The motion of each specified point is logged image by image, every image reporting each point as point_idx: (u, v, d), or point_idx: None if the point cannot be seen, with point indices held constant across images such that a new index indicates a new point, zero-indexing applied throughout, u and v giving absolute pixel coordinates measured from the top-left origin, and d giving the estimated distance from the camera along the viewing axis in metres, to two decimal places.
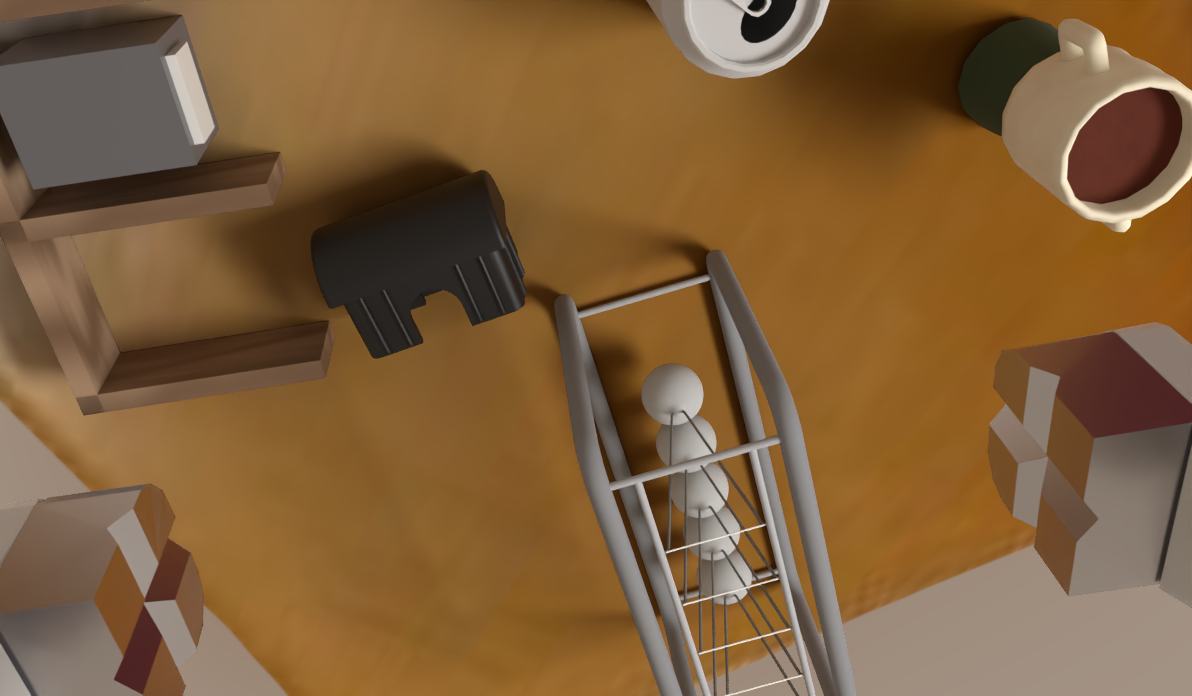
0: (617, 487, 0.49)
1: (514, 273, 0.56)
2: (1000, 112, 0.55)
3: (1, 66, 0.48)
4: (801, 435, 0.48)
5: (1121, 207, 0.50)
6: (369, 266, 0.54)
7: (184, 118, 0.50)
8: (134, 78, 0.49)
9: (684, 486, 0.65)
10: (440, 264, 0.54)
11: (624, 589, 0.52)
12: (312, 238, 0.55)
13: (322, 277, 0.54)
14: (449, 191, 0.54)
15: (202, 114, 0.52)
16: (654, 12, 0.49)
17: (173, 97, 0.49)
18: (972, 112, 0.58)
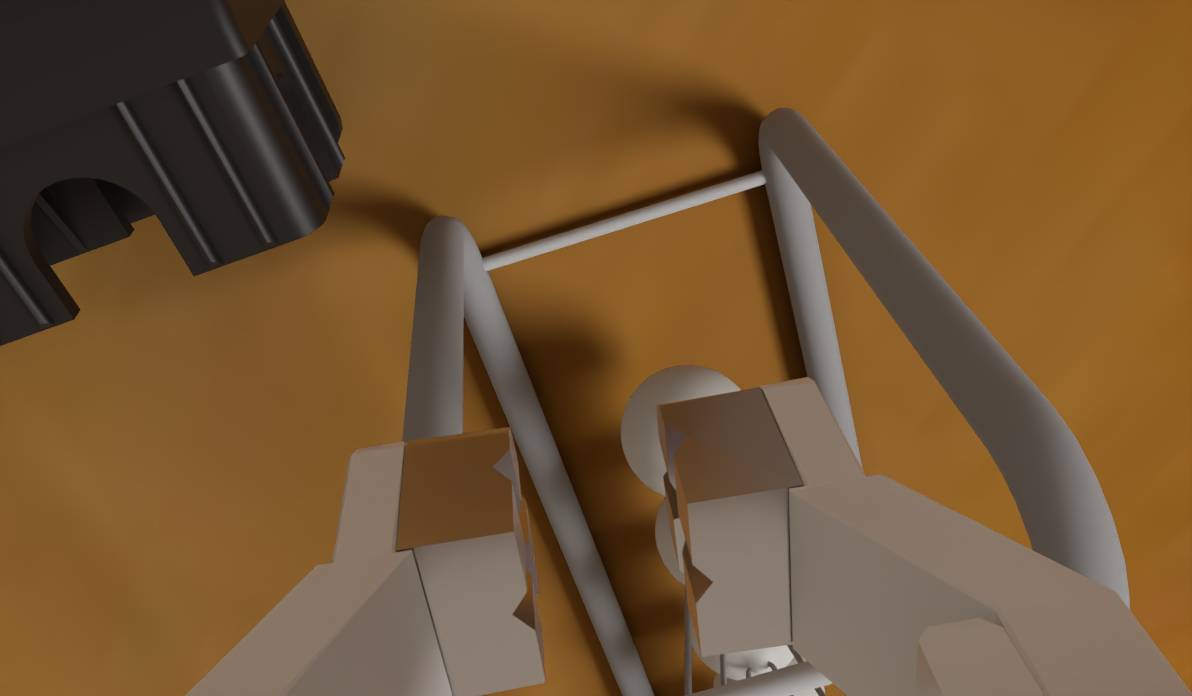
0: None
1: (296, 144, 0.23)
2: None
3: None
4: (1128, 599, 0.14)
5: None
6: None
7: None
8: None
9: None
10: (68, 103, 0.20)
11: None
12: None
13: None
14: None
15: None
16: None
17: None
18: None
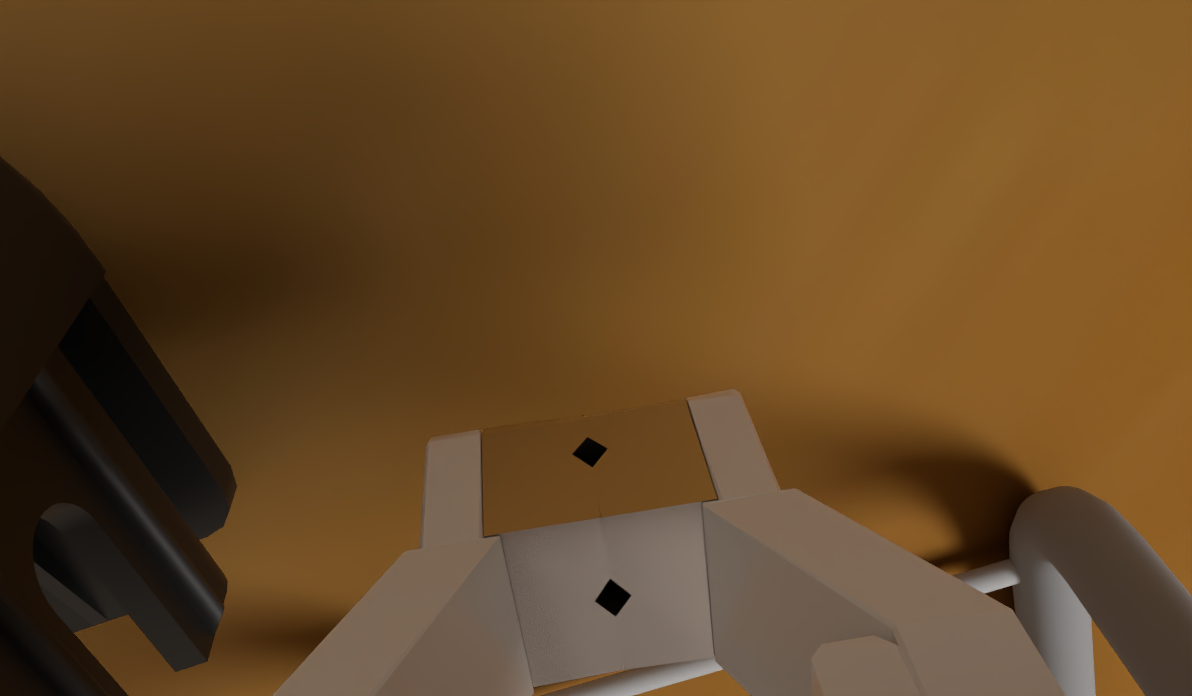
0: None
1: None
2: None
3: None
4: None
5: None
6: None
7: None
8: None
9: None
10: None
11: None
12: None
13: None
14: None
15: None
16: None
17: None
18: None
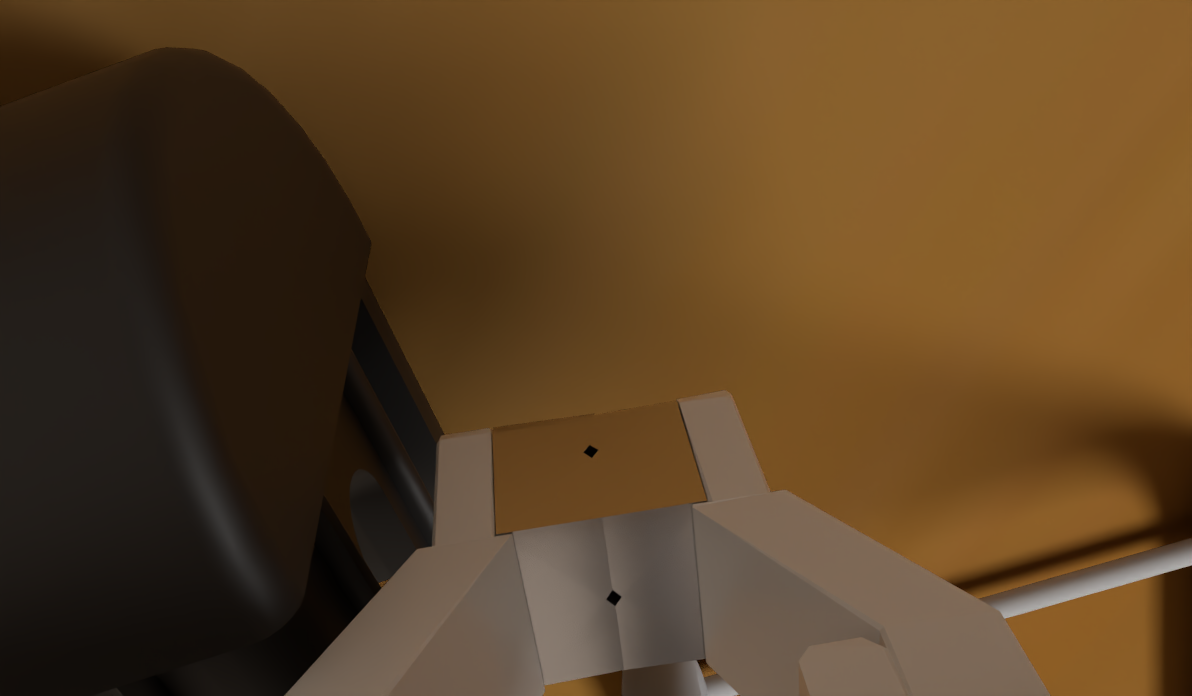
0: None
1: None
2: None
3: None
4: None
5: None
6: None
7: None
8: None
9: None
10: None
11: None
12: None
13: None
14: None
15: None
16: None
17: None
18: None
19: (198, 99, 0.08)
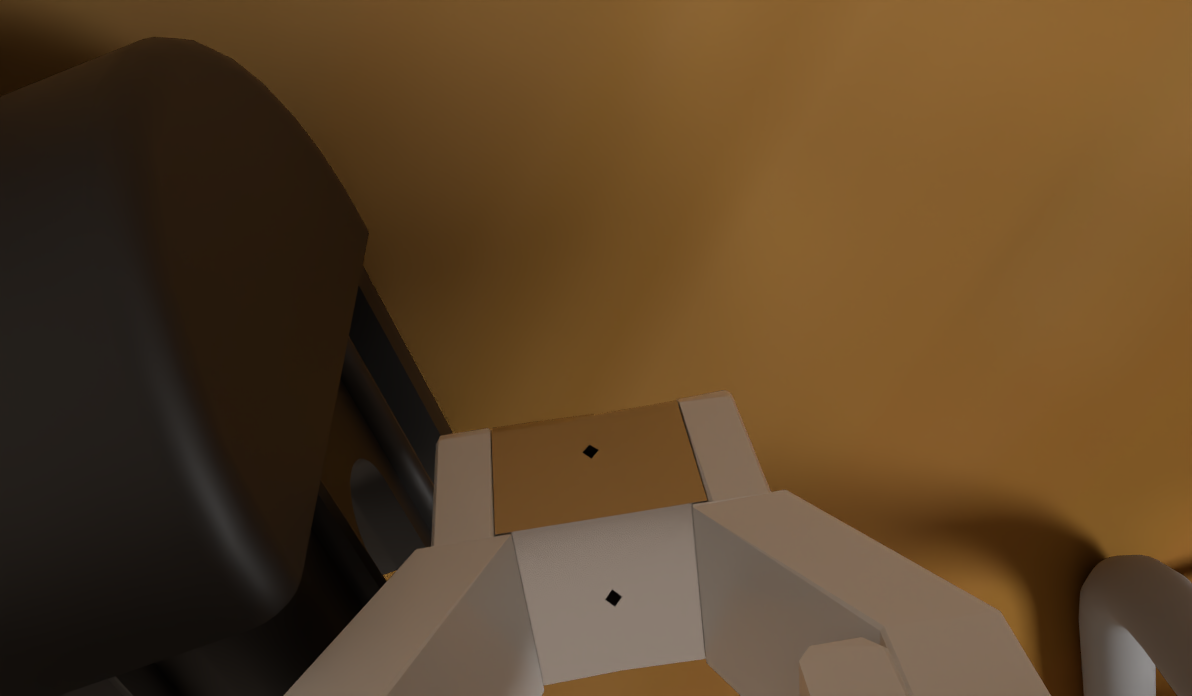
0: None
1: None
2: None
3: None
4: None
5: None
6: None
7: None
8: None
9: None
10: None
11: None
12: None
13: None
14: None
15: None
16: None
17: None
18: None
19: (186, 87, 0.08)
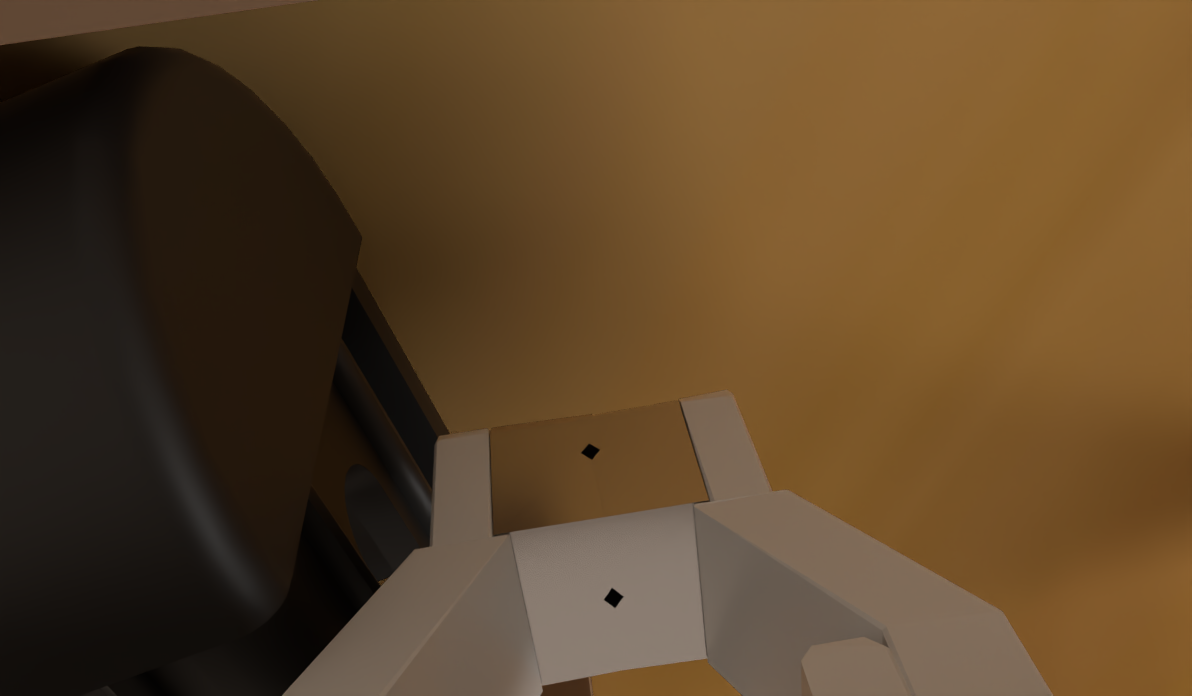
0: None
1: None
2: None
3: None
4: None
5: None
6: None
7: None
8: None
9: None
10: None
11: None
12: None
13: None
14: None
15: None
16: None
17: None
18: None
19: (171, 96, 0.08)
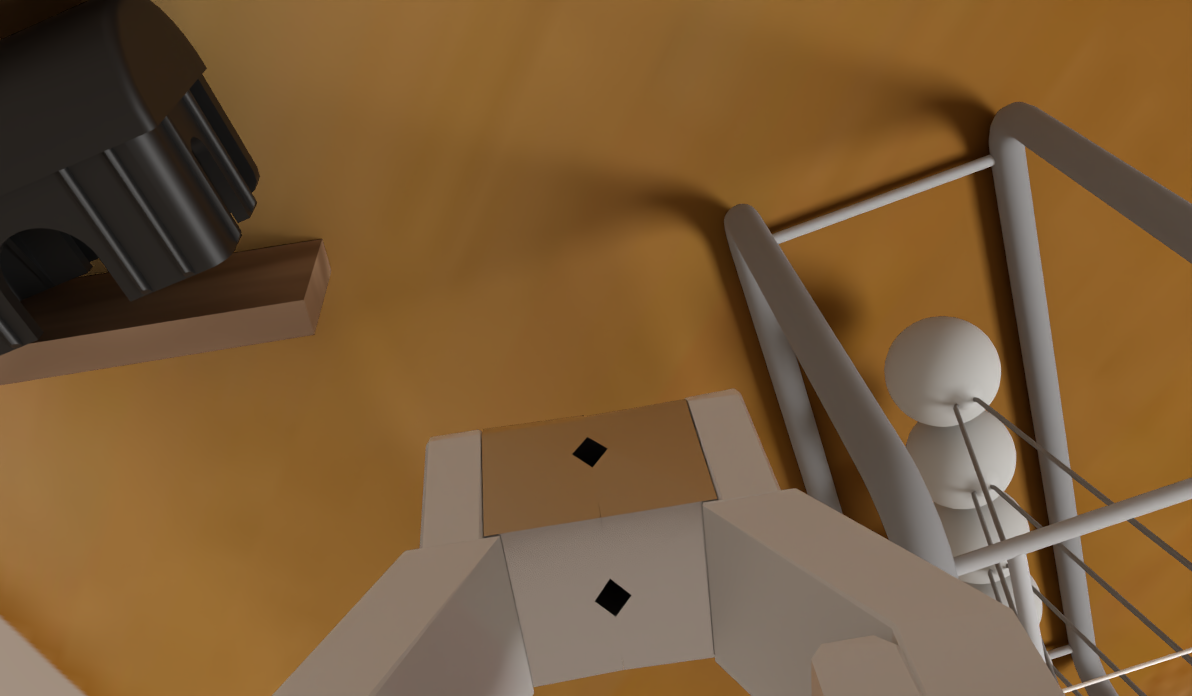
0: (973, 568, 0.22)
1: (206, 194, 0.29)
2: None
3: None
4: None
5: None
6: None
7: None
8: None
9: (958, 532, 0.38)
10: (21, 172, 0.26)
11: None
12: None
13: None
14: (43, 25, 0.27)
15: None
16: None
17: None
18: None
19: (129, 2, 0.27)
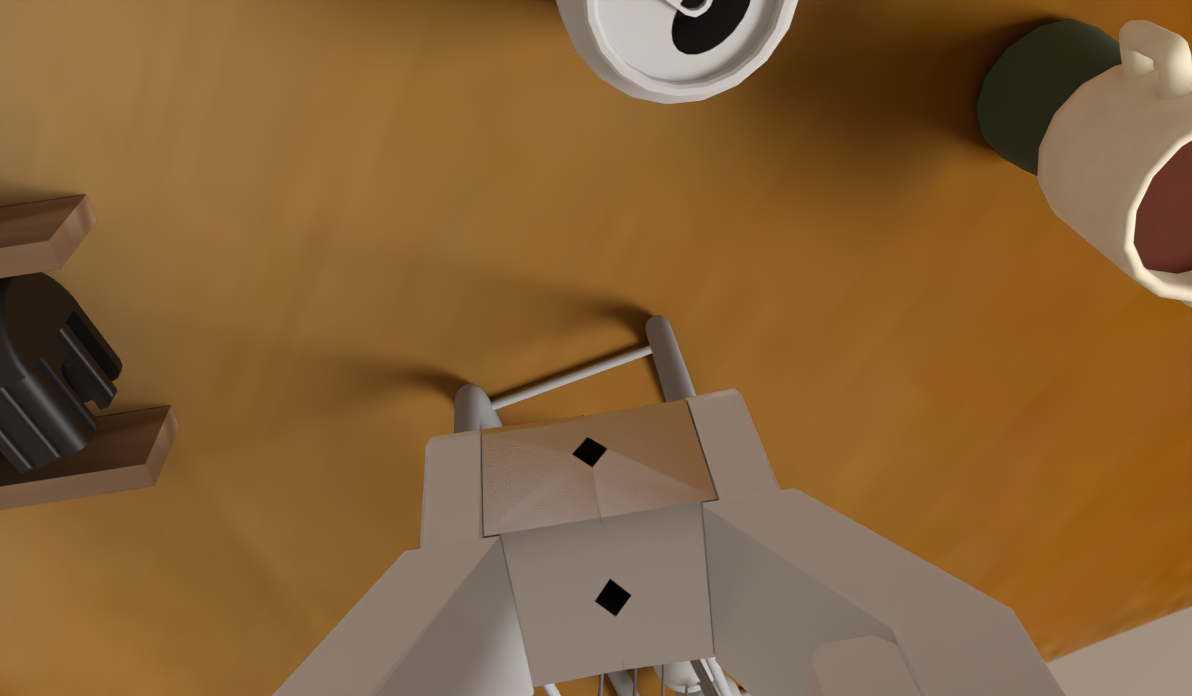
0: None
1: (71, 403, 0.42)
2: (1034, 144, 0.41)
3: None
4: None
5: None
6: None
7: None
8: None
9: None
10: None
11: None
12: None
13: None
14: None
15: None
16: None
17: None
18: (995, 142, 0.44)
19: (15, 282, 0.41)
